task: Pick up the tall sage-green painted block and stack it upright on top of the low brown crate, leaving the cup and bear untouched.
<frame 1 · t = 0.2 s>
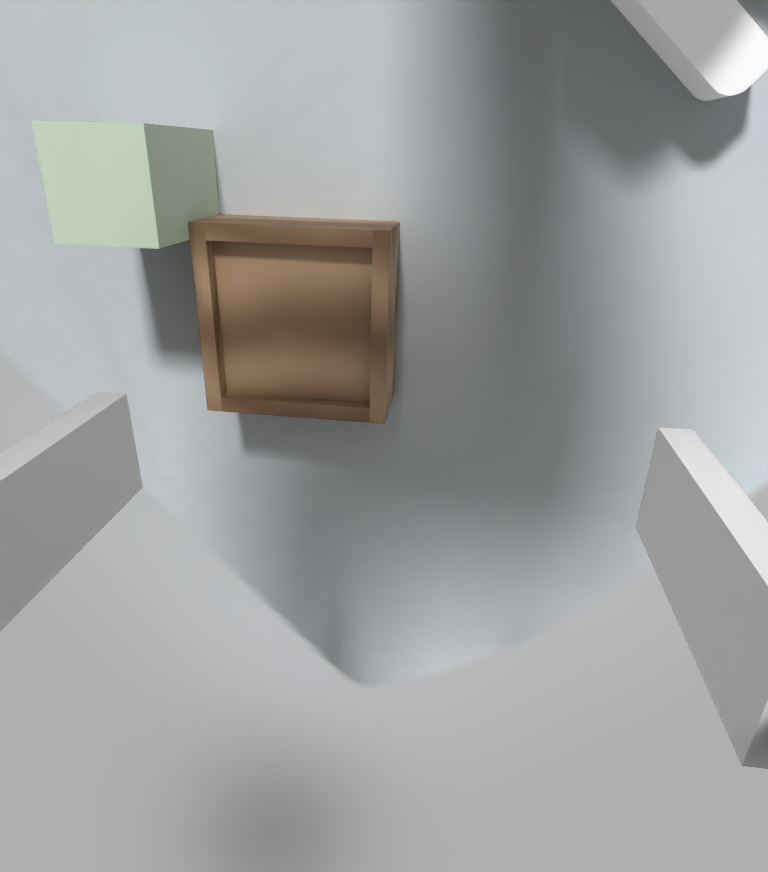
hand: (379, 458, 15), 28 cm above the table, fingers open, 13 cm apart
green block: (173, 180, 40), on the table
brown crate: (310, 309, 42), on the table
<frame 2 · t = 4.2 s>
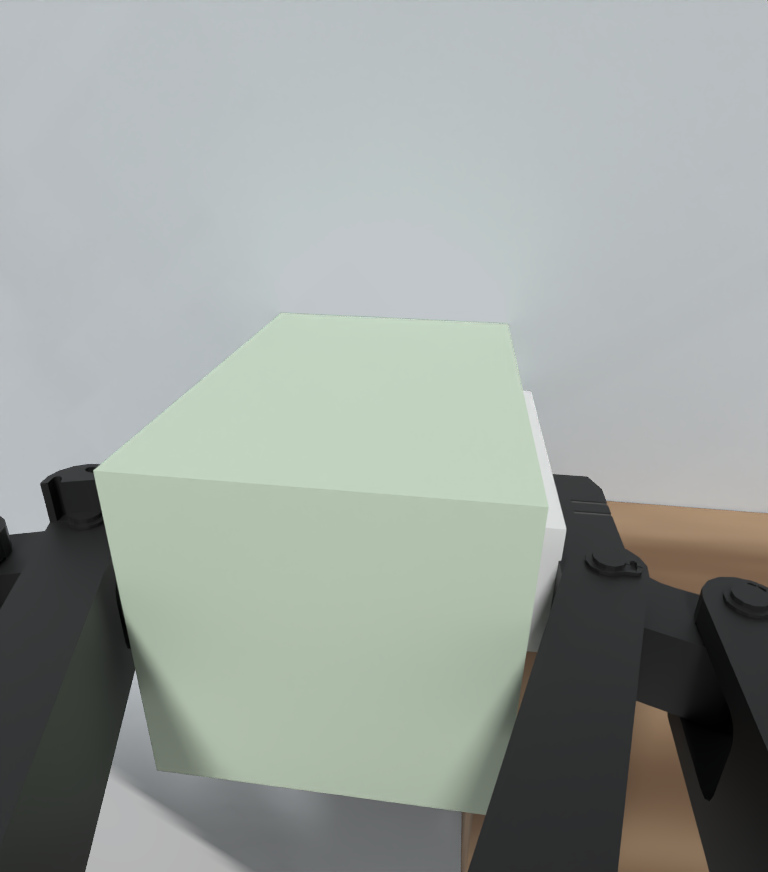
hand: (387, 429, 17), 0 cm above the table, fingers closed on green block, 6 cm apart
green block: (390, 422, 17), on the table, touching gripper
brown crate: (662, 667, 20), on the table
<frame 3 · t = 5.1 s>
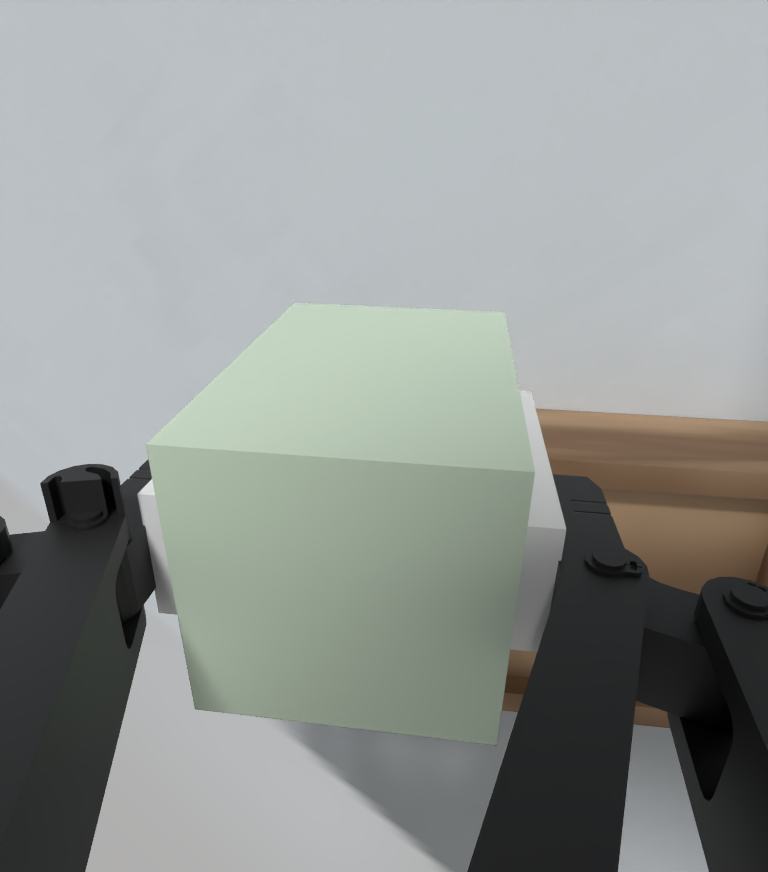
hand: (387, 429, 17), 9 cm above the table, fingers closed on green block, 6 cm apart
green block: (395, 404, 19), point 7 cm above the table, touching gripper
brown crate: (596, 535, 28), on the table
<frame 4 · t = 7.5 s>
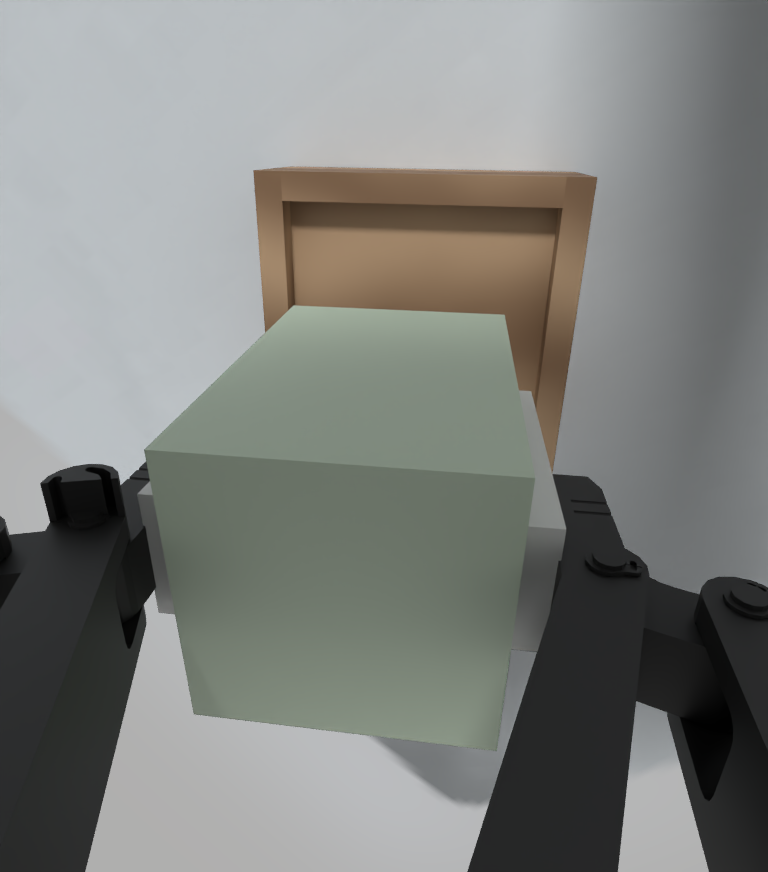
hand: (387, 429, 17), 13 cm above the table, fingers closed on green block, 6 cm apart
green block: (395, 407, 18), point 11 cm above the table, touching gripper
brown crate: (423, 310, 28), on the table
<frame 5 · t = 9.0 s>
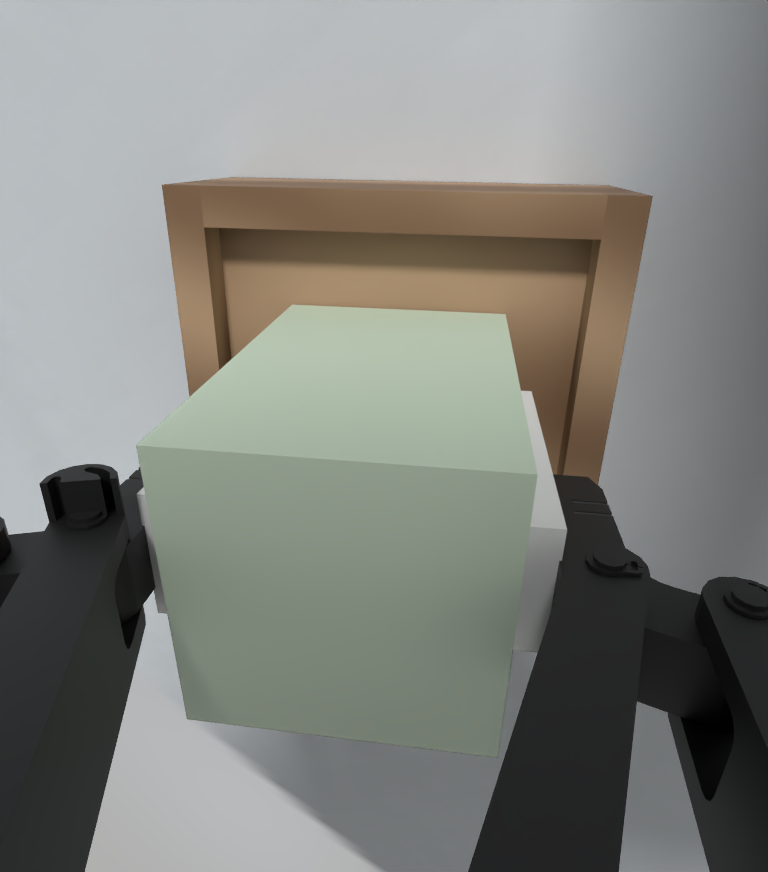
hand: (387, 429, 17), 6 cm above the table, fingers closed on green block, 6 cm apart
green block: (394, 407, 18), point 4 cm above the table, touching gripper, brown crate
brown crate: (407, 361, 22), on the table
when the fingers open (6 cm above the table, at t = 9.6 s): green block stays where it is, resting on brown crate.
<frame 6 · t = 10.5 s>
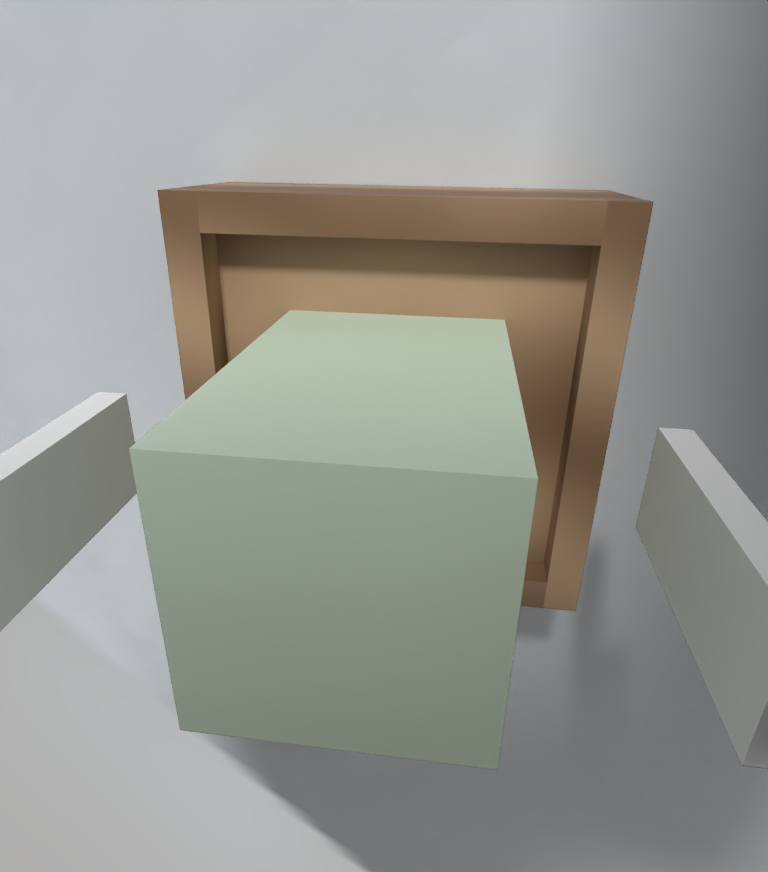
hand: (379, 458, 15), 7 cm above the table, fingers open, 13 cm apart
green block: (393, 414, 18), point 4 cm above the table, touching brown crate
brown crate: (406, 367, 22), on the table
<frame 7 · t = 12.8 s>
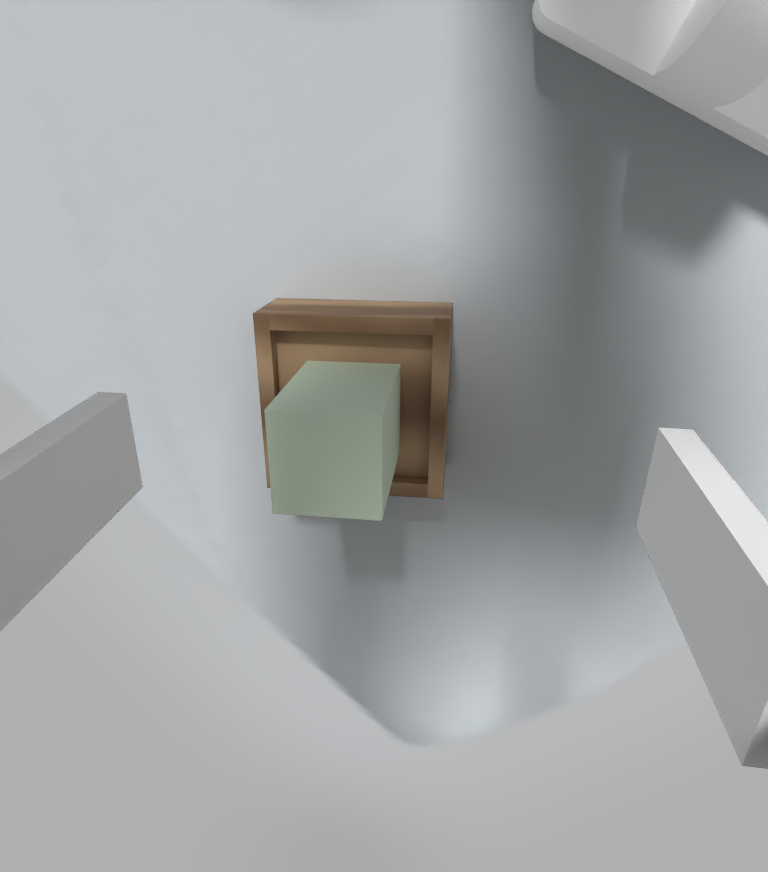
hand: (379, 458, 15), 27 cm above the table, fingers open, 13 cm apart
green block: (354, 406, 40), point 4 cm above the table, touching brown crate
white slotted block: (715, 8, 33), on the table
brown crate: (364, 385, 43), on the table
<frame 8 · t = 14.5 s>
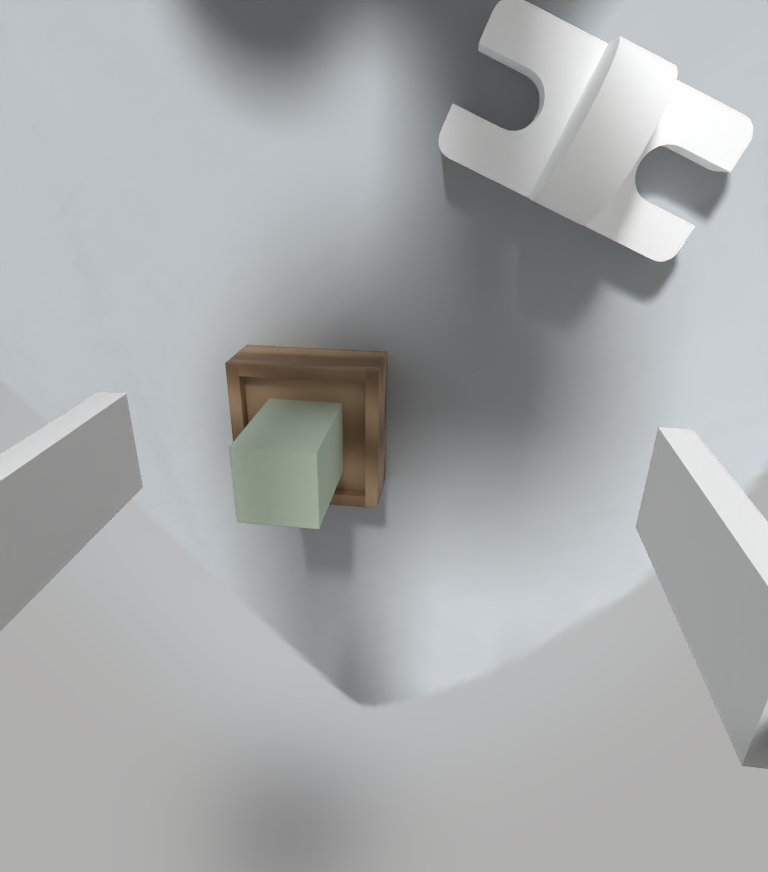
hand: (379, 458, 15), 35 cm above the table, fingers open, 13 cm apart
green block: (307, 434, 50), point 4 cm above the table, touching brown crate
white slotted block: (581, 139, 42), on the table
brown crate: (318, 414, 53), on the table
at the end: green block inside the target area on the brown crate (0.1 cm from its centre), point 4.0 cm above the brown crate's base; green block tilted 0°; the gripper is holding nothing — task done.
